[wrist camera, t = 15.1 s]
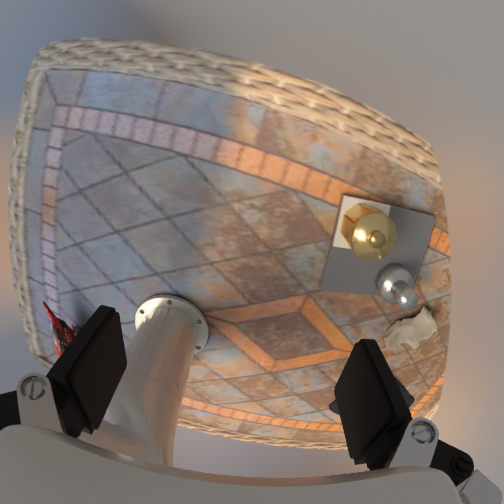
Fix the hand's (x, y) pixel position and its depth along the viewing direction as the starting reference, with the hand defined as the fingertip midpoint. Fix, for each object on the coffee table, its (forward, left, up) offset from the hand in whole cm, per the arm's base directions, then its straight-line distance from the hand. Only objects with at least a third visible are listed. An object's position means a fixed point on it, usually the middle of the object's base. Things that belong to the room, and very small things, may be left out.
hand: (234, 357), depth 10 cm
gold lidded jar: (0, -15, -27) cm, 31 cm away
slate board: (-4, -20, -28) cm, 35 cm away
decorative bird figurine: (-27, +31, -28) cm, 50 cm away
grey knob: (-8, -23, -27) cm, 37 cm away
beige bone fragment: (-17, -31, -29) cm, 46 cm away
